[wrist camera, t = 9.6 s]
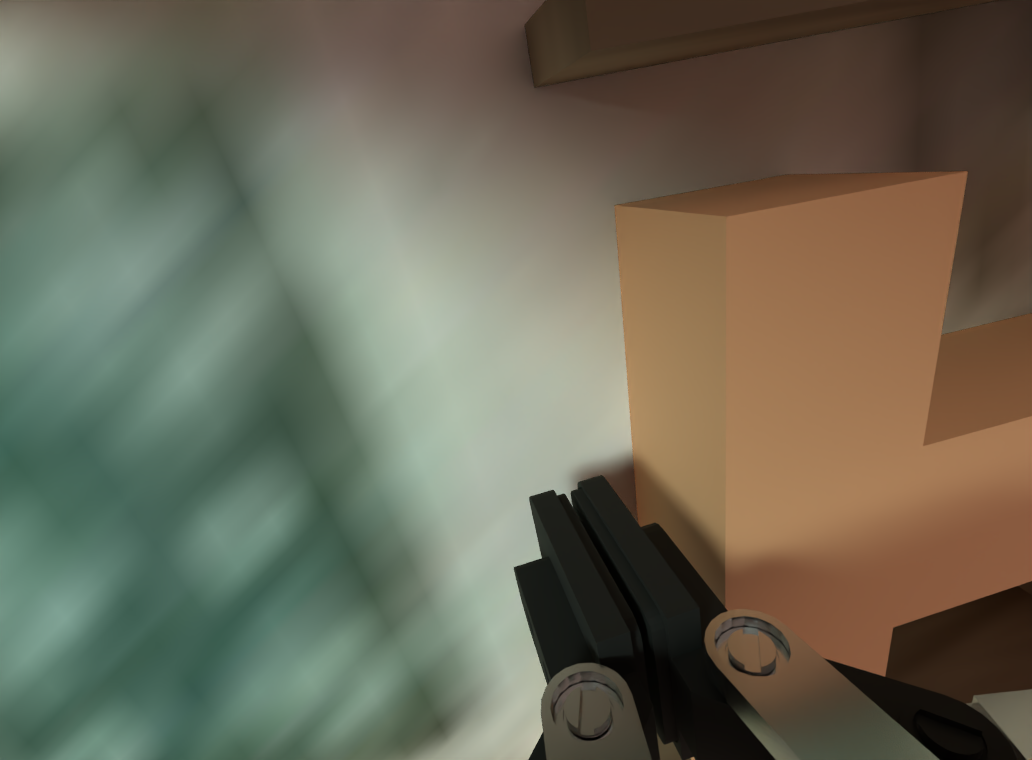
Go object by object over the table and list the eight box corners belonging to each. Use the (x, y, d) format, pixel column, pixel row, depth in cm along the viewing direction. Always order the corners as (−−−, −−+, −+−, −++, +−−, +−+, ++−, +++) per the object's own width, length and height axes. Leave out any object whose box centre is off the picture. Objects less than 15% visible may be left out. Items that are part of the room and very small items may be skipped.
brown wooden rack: (524, 24, 9) (580, -40, 7) (1204, -92, 12) (1459, -176, 9) (635, 745, 17) (683, 852, 14) (1032, 596, 19) (1139, 665, 16)
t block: (613, 204, 11) (726, 216, 7) (1112, 116, 13) (1397, 90, 9) (649, 679, 16) (724, 823, 13) (999, 564, 18) (1153, 661, 15)
